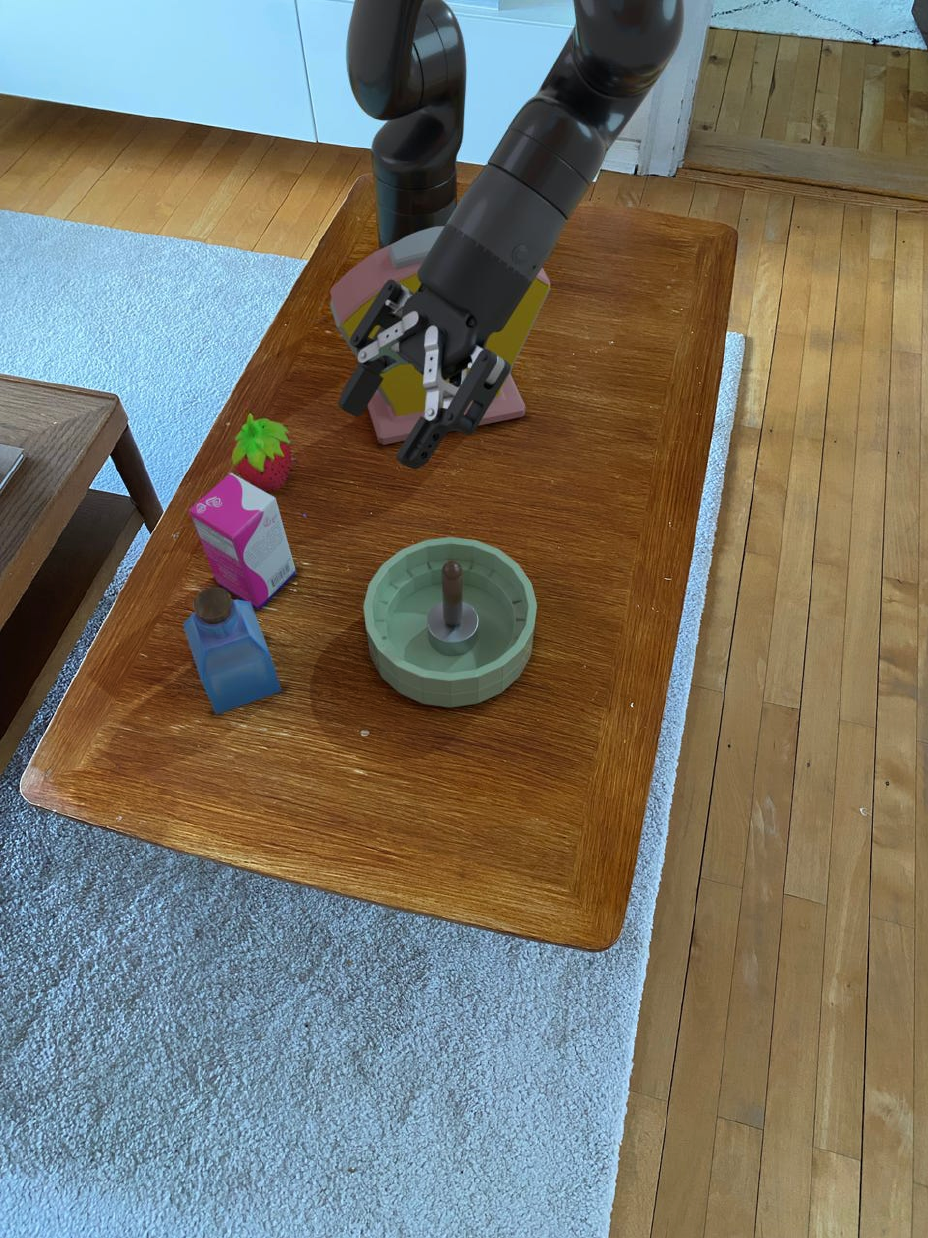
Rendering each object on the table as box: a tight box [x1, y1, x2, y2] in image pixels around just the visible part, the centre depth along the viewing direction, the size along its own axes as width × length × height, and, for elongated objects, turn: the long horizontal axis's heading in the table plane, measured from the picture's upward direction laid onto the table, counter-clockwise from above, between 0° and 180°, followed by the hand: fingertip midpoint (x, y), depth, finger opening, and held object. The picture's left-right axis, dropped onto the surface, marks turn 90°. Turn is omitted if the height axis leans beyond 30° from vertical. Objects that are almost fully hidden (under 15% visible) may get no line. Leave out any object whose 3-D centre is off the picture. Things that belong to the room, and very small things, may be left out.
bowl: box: [362, 536, 538, 708], centre depth 90 cm, size 16×16×6 cm
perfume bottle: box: [182, 586, 282, 716], centre depth 85 cm, size 6×6×12 cm
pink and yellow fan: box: [329, 226, 551, 446], centre depth 101 cm, size 22×9×22 cm, turn 106°
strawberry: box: [230, 413, 292, 492], centre depth 99 cm, size 6×7×10 cm
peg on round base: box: [427, 561, 479, 656], centre depth 88 cm, size 5×5×11 cm
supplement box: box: [188, 472, 297, 611], centre depth 92 cm, size 6×6×12 cm
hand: (376, 437), depth 75 cm, fingers open, 8 cm apart
